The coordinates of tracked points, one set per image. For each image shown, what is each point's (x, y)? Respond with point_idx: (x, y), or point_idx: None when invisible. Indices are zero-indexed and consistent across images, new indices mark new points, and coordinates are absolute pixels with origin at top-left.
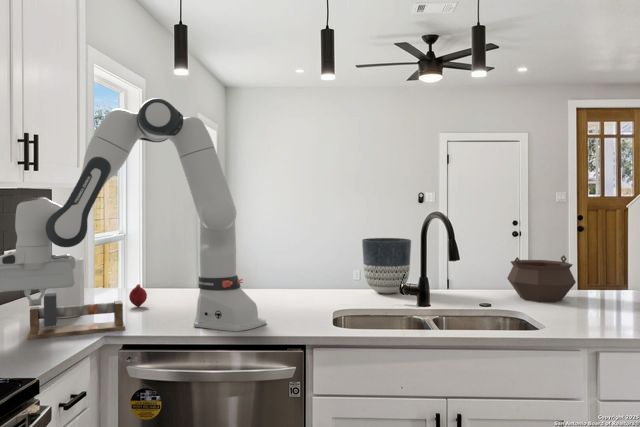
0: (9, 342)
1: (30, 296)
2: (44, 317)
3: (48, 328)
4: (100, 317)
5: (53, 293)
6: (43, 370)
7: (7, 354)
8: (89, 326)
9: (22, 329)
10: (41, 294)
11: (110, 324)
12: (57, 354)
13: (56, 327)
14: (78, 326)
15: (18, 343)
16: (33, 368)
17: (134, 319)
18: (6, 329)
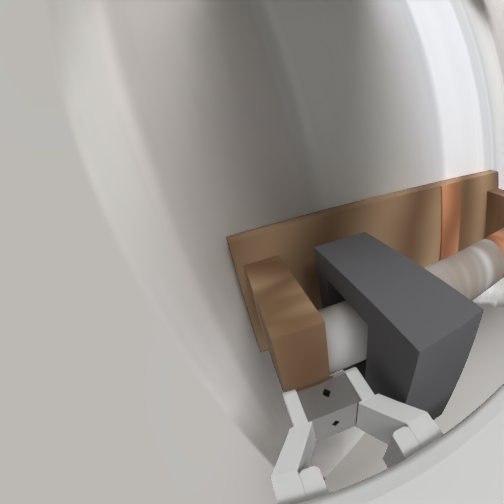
0: (207, 370)
1: (308, 444)
2: (344, 368)
3: (316, 240)
4: (429, 24)
5: (465, 336)
6: (333, 466)
7: (255, 441)
8: (443, 237)
9: (159, 152)
10: (388, 441)
11: (480, 215)
12: (352, 428)
13: (347, 225)
14: (418, 223)
15: (244, 381)
16: (319, 466)
17: (500, 114)
18: (82, 146)
